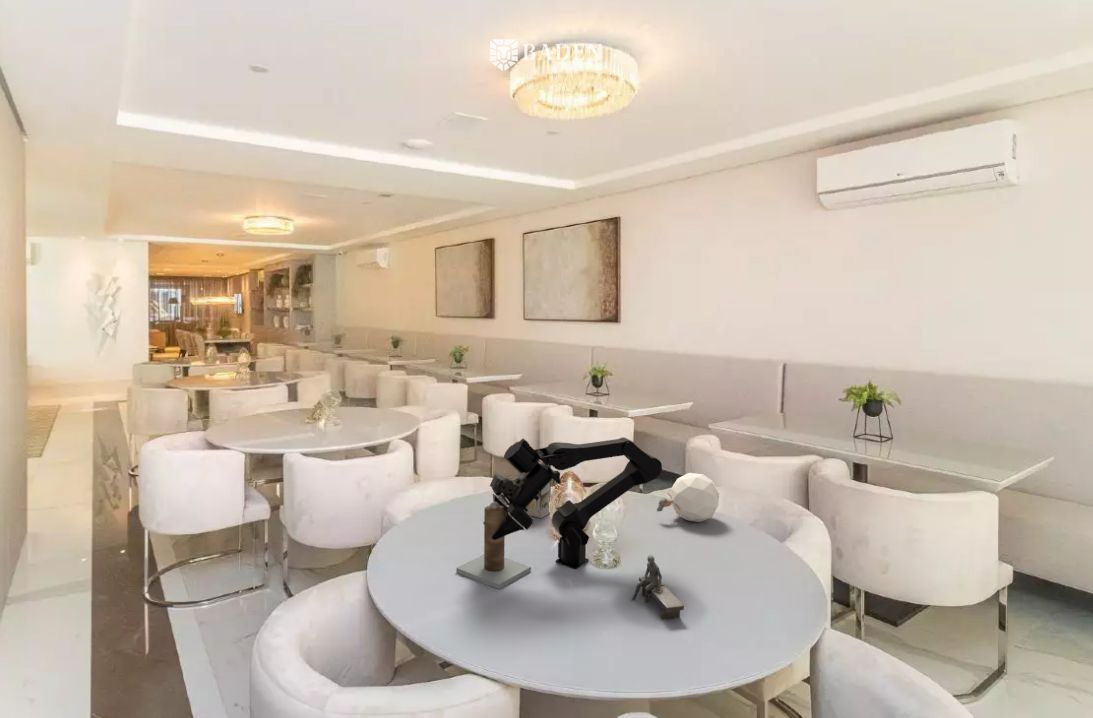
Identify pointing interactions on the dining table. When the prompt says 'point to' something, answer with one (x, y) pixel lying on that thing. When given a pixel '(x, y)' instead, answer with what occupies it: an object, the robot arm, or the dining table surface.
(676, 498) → the faceted white ball
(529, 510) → the coffee box
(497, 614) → the dining table surface
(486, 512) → the pepper mill
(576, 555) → the robot arm
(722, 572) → the dining table surface
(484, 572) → the slate board
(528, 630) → the dining table surface
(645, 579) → the sculpture
